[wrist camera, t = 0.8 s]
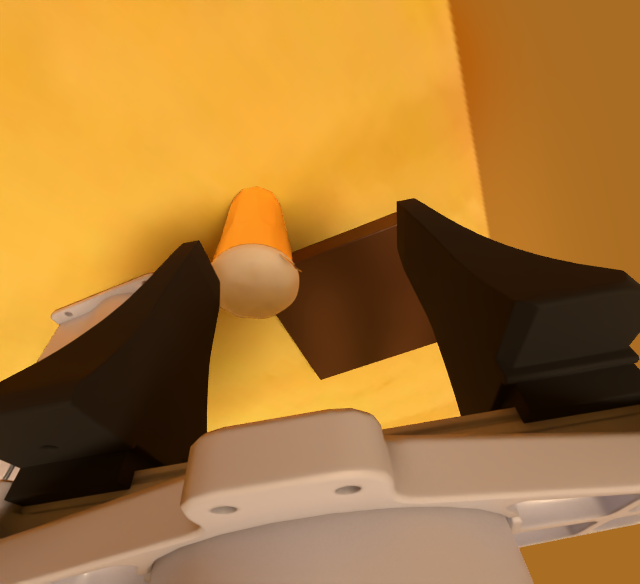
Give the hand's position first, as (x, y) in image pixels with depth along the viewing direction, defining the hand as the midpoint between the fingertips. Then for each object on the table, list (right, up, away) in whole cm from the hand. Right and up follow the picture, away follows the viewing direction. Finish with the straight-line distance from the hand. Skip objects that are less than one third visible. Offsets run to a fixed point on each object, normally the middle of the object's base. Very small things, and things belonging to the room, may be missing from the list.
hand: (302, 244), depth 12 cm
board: (+4, -3, +18) cm, 18 cm away
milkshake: (-3, +4, +10) cm, 12 cm away
